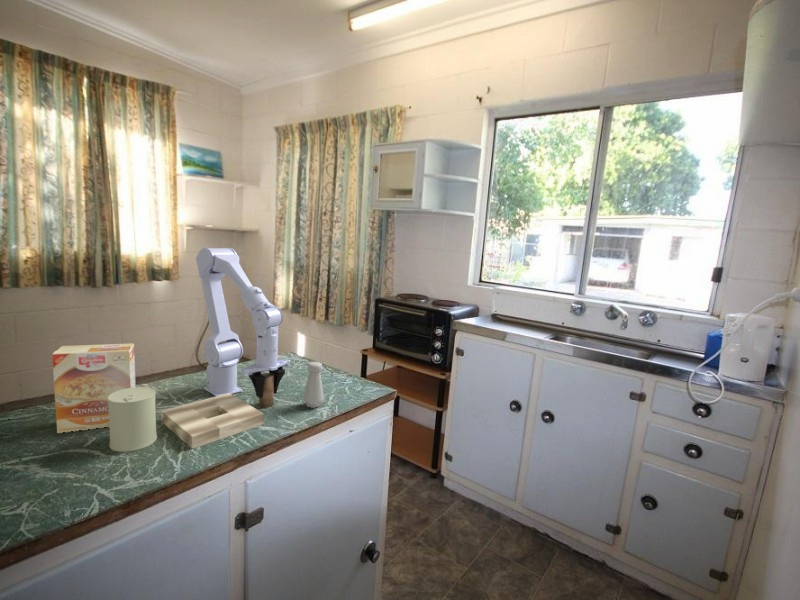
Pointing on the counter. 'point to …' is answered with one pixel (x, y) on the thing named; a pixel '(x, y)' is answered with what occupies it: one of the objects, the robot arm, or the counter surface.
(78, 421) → the coffeecake box
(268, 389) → the peg
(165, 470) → the counter surface
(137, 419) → the can
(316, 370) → the salt shaker
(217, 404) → the socket block
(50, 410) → the counter surface
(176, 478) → the counter surface
